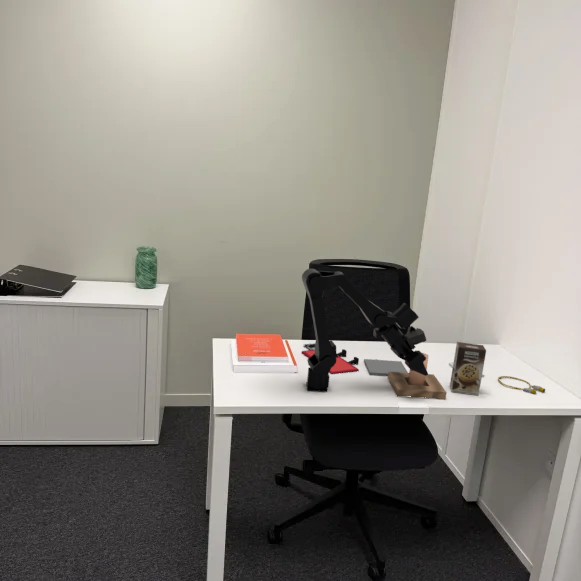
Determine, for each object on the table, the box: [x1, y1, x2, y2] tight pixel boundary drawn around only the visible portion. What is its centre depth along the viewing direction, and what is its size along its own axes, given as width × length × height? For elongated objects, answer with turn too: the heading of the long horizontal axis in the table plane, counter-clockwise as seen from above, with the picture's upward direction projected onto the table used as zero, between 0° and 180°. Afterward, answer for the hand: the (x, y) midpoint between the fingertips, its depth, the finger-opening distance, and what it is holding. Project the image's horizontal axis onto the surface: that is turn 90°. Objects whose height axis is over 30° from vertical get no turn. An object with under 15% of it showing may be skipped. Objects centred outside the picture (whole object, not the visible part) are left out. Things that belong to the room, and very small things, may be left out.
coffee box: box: [449, 341, 487, 396], centre depth 208 cm, size 9×6×16 cm
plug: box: [408, 352, 429, 386], centre depth 207 cm, size 6×6×12 cm
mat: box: [363, 358, 409, 377], centre depth 224 cm, size 14×14×1 cm
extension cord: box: [497, 375, 546, 395], centre depth 219 cm, size 12×16×2 cm
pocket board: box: [387, 372, 447, 400], centre depth 208 cm, size 16×16×2 cm
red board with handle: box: [301, 342, 360, 375], centre depth 231 cm, size 30×3×15 cm
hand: (421, 370), depth 207 cm, fingers open, 8 cm apart
